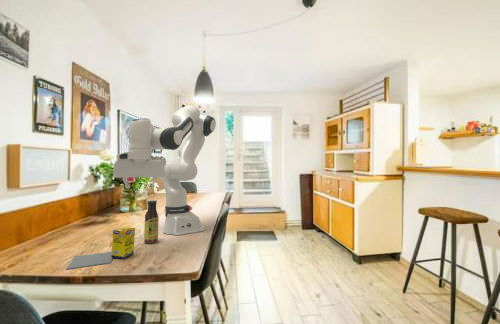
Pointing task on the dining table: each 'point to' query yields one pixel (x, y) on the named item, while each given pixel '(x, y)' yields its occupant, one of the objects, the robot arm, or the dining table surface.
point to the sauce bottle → (151, 223)
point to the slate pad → (90, 260)
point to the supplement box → (123, 242)
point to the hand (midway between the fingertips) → (139, 188)
